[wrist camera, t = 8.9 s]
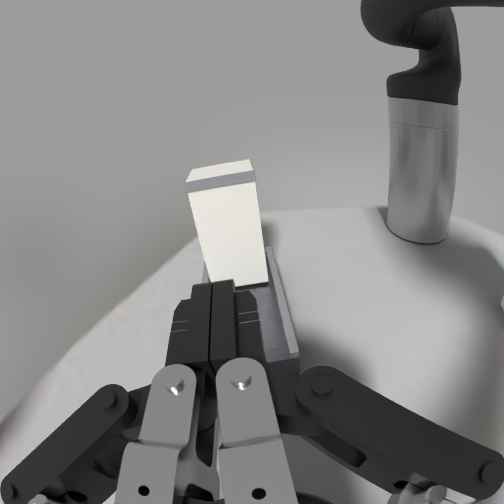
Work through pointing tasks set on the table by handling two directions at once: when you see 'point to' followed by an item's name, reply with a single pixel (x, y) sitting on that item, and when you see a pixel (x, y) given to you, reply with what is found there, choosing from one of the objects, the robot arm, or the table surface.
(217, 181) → the fader knob
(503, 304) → the ink cartridge box
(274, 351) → the fader console
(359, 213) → the table surface
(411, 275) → the table surface
